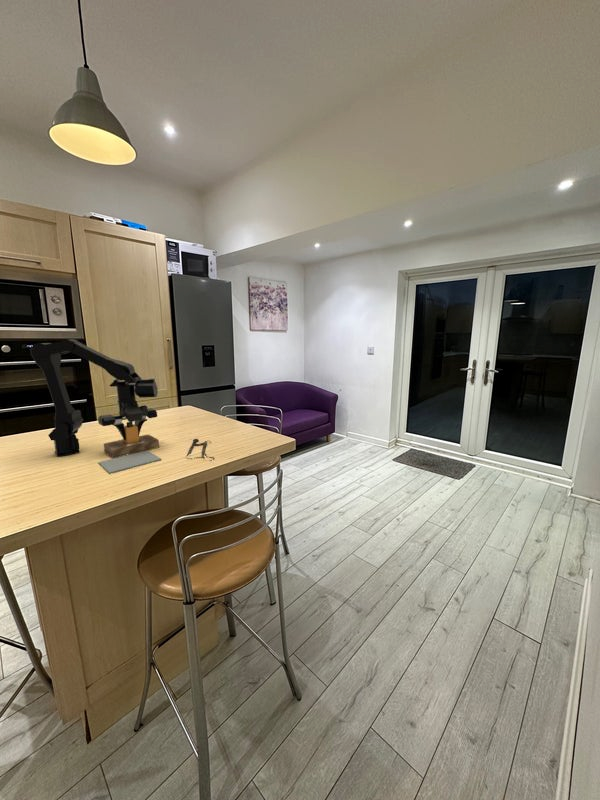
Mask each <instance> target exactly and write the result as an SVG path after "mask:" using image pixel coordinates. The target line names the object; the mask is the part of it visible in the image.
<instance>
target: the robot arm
mask: <svg viewBox="0 0 600 800" xmlns="http://www.w3.org/2000/svg"><path fill="white" fill-rule="evenodd" d="M29 350H30V355H31V357H32V359H33V361H34V362H35V364H36V365H37V366H38V367H39V368H40V369H41V370H42V372H43V376H44V378H45V382H46V384H47V388H48V389H49V394H50V396H51V399H52V402H53V406H54V408H55V414H54V429H52V430H51V432H50V433H49V434H48V435H47V436H48V438H49V439H50V441H53V444H54V454H55V455H56V457H58V458H59V457H64V456H68V455H69V456H70V455H72V454H78V453H80V441H79V438H78V437H77V435H76V434H77V433H78V432H79V429H80V428H81V427H82V426H83V421H84V418H83V416H82V411H81V410H80V409H78V410H75V408H74V407H73V405H72V403H71V401H70V400H71V399H70V396H69V393H68V390H67V387H66V384H65V381H64V377H63V374H62V370H61V363H62V355H64V354H68V353H72V354H73V355H76V356H78V357H80V358H82V359H85V360H86V361H88V362H90V363H92V364H94V365H96V366H97V367H100V368H102V369H104V370H105V371H106V373H108V375H110V376H112V377H113V378H115V379H113V381H112V382H111V384H109V387H114V388H115V387H116V392H117V404H118V415H112V414H105V415H104V414H103V415H99V416H98V418H97V420H98V421H97V422H98V423H97V424H99V425H100V426H102V427H108V426H109V427H110V426H114V427H115V428H116V429H117V431H118V432H119V435H121V437H122V439H124V440H126V435H125V430H124V426H125V424H124V422H123V421H125V420H126V421H127V422H133V423H134V425H136V426H138V435H139V436H140V433H141V430H142V427H143V425H144V423H145V422H147V421H148V419H154V418H158V412H157V409H154V408H151V407H150V408H149V407H148V405H141V406H139V404H138V400H137V399H136V396H137V397H139V398H157V397H158V394H159V392H158V390H159V389H158V388H159V387H158V386H157V382H156V380H155V378H149V379H148V378H147V379H146V378H145V379H142V378H141V377H140V375H139V374H138V373H137V372H136V369H135V366H134V365H133V364H131V363H129V362H126V361H123V360H119V359H114V358H111V357H109V356H107V355H105V354H103V353H101V352H100V351H97V350H95V349H93V348H92V347H89V346H88V345H85V344H84V343H81V342H80V341H79V340H77V339H74V338H73V339H72V338H71V339H69V338H68V339H65V340H61V341H57V342H52V343H51V342H45V343H43V342H42V343H35V344H33V345H32V347H31V348H30V349H29ZM147 418H148V419H147Z"/></svg>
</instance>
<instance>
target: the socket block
mask: <svg viewBox="0 0 600 800" xmlns="http://www.w3.org/2000/svg"><path fill="white" fill-rule="evenodd" d="M157 447H158V448H160V441H159V439H158V438H156V437H154V436H152V435H150V434H143V435H139V442H137V443H133V444H128V445H126V444H124V439H123V438H122V439H118V440H113V441H110V442H109V441H108V442H105V443H103V448H104V449H103V450H104V452H105V453H106V454H107V453H108V454H109V455H108V454H107V455H108V456H110V457H111V459H114V458H115V457H116V458H118V457H119V456H120V457H122V456H123V455H124V456H126V455H127V454H129V455H131V454H132V453H133V454H135V453H136V452H137V453H139V452H140V451H141V452H143V451H144V450H145V451H147V450H148V451H149V450H152V449H153V448H154V449H157Z"/></svg>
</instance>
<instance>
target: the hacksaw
mask: <svg viewBox="0 0 600 800" xmlns="http://www.w3.org/2000/svg"><path fill="white" fill-rule="evenodd" d="M192 439H193V438H192ZM196 442H197V443H196ZM198 442H199V438H194V439H193V440H192V443H191V445H190V447H189V449H188V451H187V454H186V456H188V455H189V454H192V452H193V449H194V447H197V446H201V445H202V449H201V456H197V457H188V458H187V459H191V460H194V459H195V458H196V459H202V458H203V460H205V457H204V455H205V456H206V458H208V457H209V458H210V459H211V460H210V462H212V460H213V461H214V460H215V457H214V456H207V453H206V448H207V445H208V440H205V441H203V442H201V443H198ZM211 442H212V441H209V443H211ZM192 458H194V459H192ZM209 458H208V459H209Z"/></svg>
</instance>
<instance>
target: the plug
mask: <svg viewBox="0 0 600 800" xmlns="http://www.w3.org/2000/svg"><path fill="white" fill-rule="evenodd" d="M133 423H134V421H133V422H129V421H127V422H126V423H125V424H126V425H124V430H125V435H126V440H124V444H126V445H128V444H133V443H137V442H139V436H140V434H139V435H138V426H136V425H135V423H134V424H133Z"/></svg>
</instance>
